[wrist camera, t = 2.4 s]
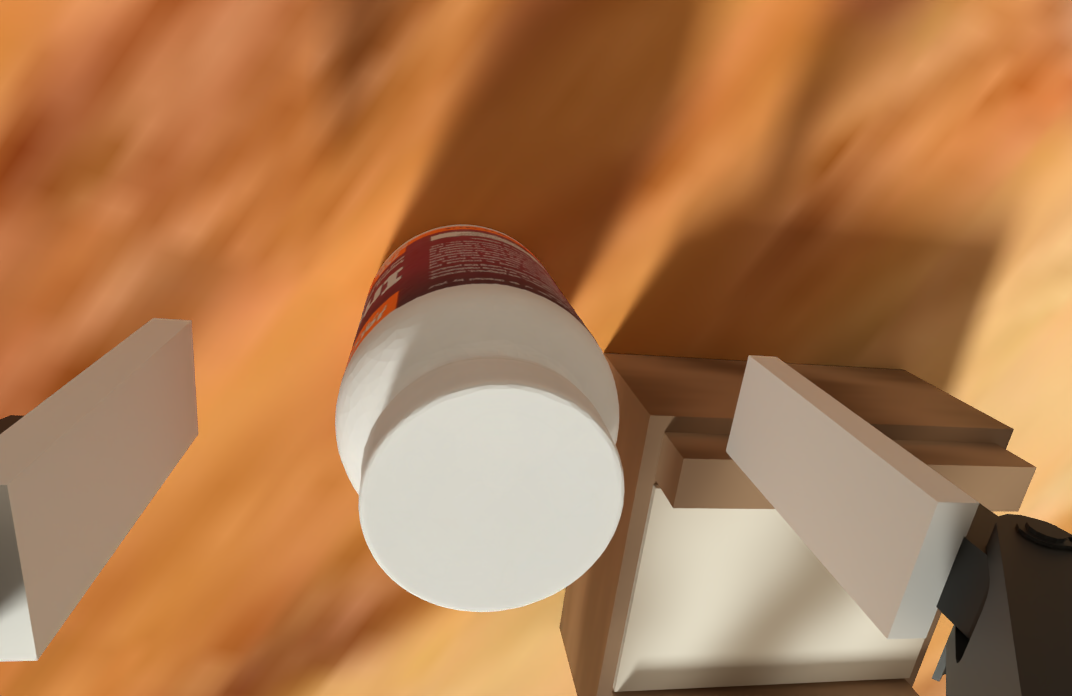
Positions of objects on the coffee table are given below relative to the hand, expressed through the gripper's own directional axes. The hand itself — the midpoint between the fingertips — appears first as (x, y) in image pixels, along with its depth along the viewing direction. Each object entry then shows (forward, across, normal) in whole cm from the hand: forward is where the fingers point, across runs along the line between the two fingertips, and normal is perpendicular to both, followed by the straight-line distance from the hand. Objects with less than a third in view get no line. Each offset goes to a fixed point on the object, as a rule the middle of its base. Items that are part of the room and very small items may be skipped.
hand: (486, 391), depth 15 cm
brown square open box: (+7, +11, -7) cm, 14 cm away
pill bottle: (+7, 0, 0) cm, 7 cm away
